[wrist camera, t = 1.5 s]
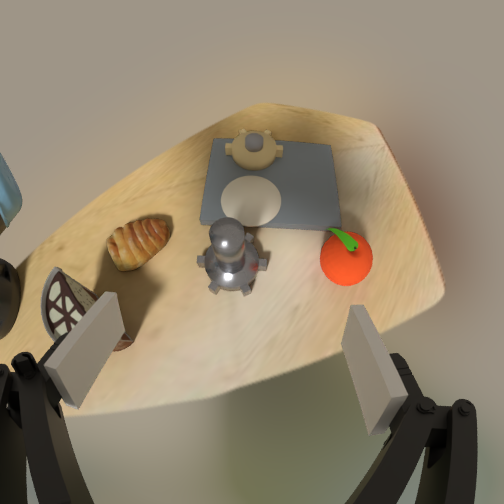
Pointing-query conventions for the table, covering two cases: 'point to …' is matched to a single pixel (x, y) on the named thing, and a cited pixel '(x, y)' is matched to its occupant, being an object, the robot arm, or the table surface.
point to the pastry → (137, 243)
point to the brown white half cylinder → (68, 306)
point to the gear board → (271, 183)
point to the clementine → (346, 258)
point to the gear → (231, 257)
